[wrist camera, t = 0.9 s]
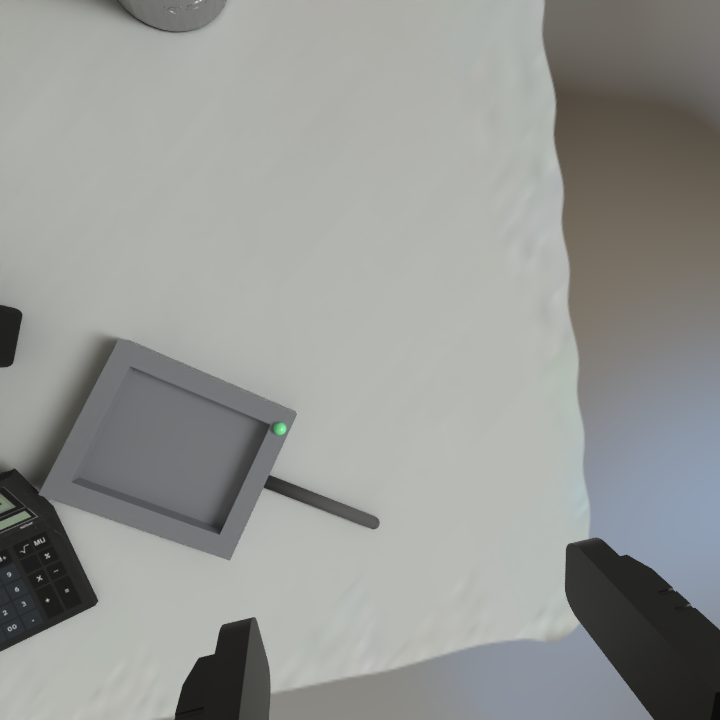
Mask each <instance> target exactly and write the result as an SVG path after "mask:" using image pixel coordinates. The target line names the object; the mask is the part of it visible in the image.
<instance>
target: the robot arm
mask: <svg viewBox="0 0 720 720" xmlns="http://www.w3.org/2000/svg"><path fill="white" fill-rule="evenodd" d="M118 1H119V2H120V3H121V4H122V5H123V7H124V8H125V9H126V10H128V11H129V12H130V13H131V14H132V15H134V16H135V17H136V18H138V19H139V20H141V21H143V22H145V23H146V24H148V25H151V26H154V27H156V28H159V29H163V30H169V31H189V30H193V29H197V28H200V27H202V26H204V25H206V24H208V23H210V22H211V21H212V20H213V19H214V18H215V17H217V16H218V14H219V13H220V11H221V10H222V9H223V7H224V5H225V2H226V0H118ZM565 592H566V597H567V600H568V602H569V605H570V607H571V609H572V611H573V613H574V614H575V616H576V617H577V619H578V620H579V621H580V623H581V624H582V625H583V627H584V628H585V629H586V630H587V632H588V633H589V635H590V636H591V637H592V638H593V640H594V641H595V642H596V644H597V645H598V646H599V647H600V649H601V650H602V652H603V653H604V654H605V656H606V657H607V658H608V660H609V661H610V662H611V663H612V665H613V666H614V667H615V669H616V670H617V671H618V673H619V674H620V675H621V677H622V678H623V679H624V681H625V682H626V683H627V684H628V686H629V687H630V688H631V690H632V691H633V692H634V694H635V695H636V696H637V698H638V699H639V700H640V701H641V703H642V704H643V706H644V707H645V708H646V710H647V711H648V712H649V714H650V715H651V716H652V717H653V719H654V720H720V630H719V629H718V628H717V627H716V626H715V625H714V624H712V623H711V622H710V621H709V620H708V619H707V618H706V617H705V616H704V615H703V614H701V613H700V612H699V611H698V610H697V609H696V608H692V606H691V604H690V603H689V602H688V601H687V600H686V599H685V598H684V597H683V596H681V595H680V594H679V593H678V592H677V591H676V592H675V591H674V590H673V587H671V586H670V585H669V584H668V583H667V582H666V581H665V580H664V579H663V578H661V577H660V576H659V575H658V574H657V573H656V572H655V571H654V570H653V569H651V568H649V567H648V566H646V565H644V564H642V563H641V562H639V561H637V560H635V559H633V558H632V557H630V556H628V555H624V556H619V555H618V554H617V553H616V552H615V551H614V550H613V549H612V548H611V547H610V546H608V545H607V544H606V543H605V542H604V541H603V540H601V539H599V538H592V539H587V540H583V541H579V542H575V543H570V544H568V545H567V548H566V571H565ZM269 708H270V672H269V665H268V660H267V656H266V653H265V649H264V645H263V642H262V638H261V634H260V631H259V627H258V623H257V620H256V618H255V617H253V618H249V619H245V620H240V621H236V622H232V623H228V624H224V625H222V627H221V629H220V632H219V636H218V641H217V646H216V651H215V654H213V655H209V656H205V657H201V658H199V659H198V660H197V662H196V664H195V665H194V667H193V669H192V670H191V672H190V674H189V675H188V677H187V679H186V680H185V682H184V684H183V686H182V690H181V694H180V697H179V701H178V705H177V709H176V712H175V720H269Z"/></svg>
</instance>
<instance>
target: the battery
mask: <svg viewBox="0 0 720 720" xmlns="http://www.w3.org/2000/svg"><path fill="white" fill-rule="evenodd" d="M21 319H22V313H21V311H19V310H18V309H15V308H11V307H7V306H2V305H0V367H8V366H11V365H12V364H13V361H14V356H15V350H16V345H17V340H18V335H19V330H20V325H21Z"/></svg>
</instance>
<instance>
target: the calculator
mask: <svg viewBox="0 0 720 720" xmlns="http://www.w3.org/2000/svg"><path fill="white" fill-rule="evenodd" d="M38 494H39V492H38V491H37V490H36V489H35V488H34V487H33V486H32V485H31V484H30V483H29V482H28V481H27V480H26V479H25V478H24V477H23V476H22V475H21V474H20V473H19V472H18V471H17V470H16V469H13V470H10V471H8V472H5V473H3V474H0V651H2V650H5V649H7V648H9V647H11V646H13V645H15V644H17V643H19V642H21V641H23V640H25V639H27V638H29V637H31V636H33V635H35V634H38V633H40V632H42V631H44V630H46V629H48V628H50V627H52V626H54V625H56V624H58V623H60V622H62V621H64V620H66V619H68V618H70V617H73V616H75V615H77V614H79V613H81V612H83V611H85V610H87V609H89V608H91V607H93V606H95V605H96V604H97V602H98V599H97V597H96V595H95V593H94V591H93V589H92V587H91V584H90V582H89V580H88V578H87V576H86V574H85V572H84V570H83V568H82V565H81V563H80V561H79V559H78V557H77V555H76V553H75V551H74V549H73V546H72V544H71V542H70V540H69V538H68V536H67V534H66V532H65V530H64V527H63V525H62V523H61V521H60V519H59V517H58V515H57V513H56V511H55V508H54V506H53V505H51V504H50V503H49V502H48V501H47V500H46V499H45V498H44V497H43V496H41V495H38Z"/></svg>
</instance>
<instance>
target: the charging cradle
mask: <svg viewBox="0 0 720 720" xmlns="http://www.w3.org/2000/svg"><path fill="white" fill-rule="evenodd" d="M296 415H297V414H296V412H295V411H293V410H291V409H288V408H286V407H284V406H281V405H279V404H277V403H274V402H272V401H270V400H267V399H265V398H263V397H260V396H258V395H256V394H253V393H251V392H249V391H246V390H244V389H242V388H239V387H237V386H235V385H232V384H230V383H228V382H225V381H223V380H221V379H218V378H216V377H214V376H211V375H209V374H207V373H204V372H202V371H200V370H197V369H195V368H193V367H190V366H188V365H186V364H183V363H181V362H179V361H176V360H174V359H172V358H169V357H167V356H165V355H162V354H160V353H158V352H155V351H153V350H151V349H148V348H146V347H144V346H141V345H139V344H137V343H134V342H132V341H130V340H124V339H119V340H118V341H117V343H116V345H115V347H114V349H113V351H112V353H111V355H110V357H109V359H108V361H107V363H106V365H105V367H104V368H103V370H102V372H101V374H100V376H99V378H98V380H97V382H96V384H95V386H94V388H93V390H92V392H91V394H90V396H89V397H88V399H87V401H86V403H85V405H84V407H83V409H82V411H81V413H80V415H79V417H78V419H77V421H76V423H75V425H74V426H73V428H72V430H71V432H70V434H69V436H68V438H67V440H66V442H65V444H64V446H63V448H62V450H61V452H60V454H59V455H58V457H57V459H56V461H55V463H54V465H53V467H52V469H51V471H50V473H49V475H48V477H47V479H46V481H45V483H44V484H43V486H42V488H41V490H40V492H39V494H38V495H41V496H44V497H46V498H49V499H52V500H55V501H58V502H61V503H64V504H67V505H70V506H73V507H76V508H79V509H81V510H84V511H87V512H90V513H93V514H96V515H99V516H102V517H105V518H108V519H111V520H113V521H116V522H119V523H122V524H125V525H128V526H131V527H134V528H137V529H140V530H143V531H146V532H148V533H151V534H154V535H157V536H160V537H163V538H166V539H169V540H172V541H175V542H178V543H180V544H183V545H186V546H189V547H192V548H195V549H198V550H201V551H204V552H207V553H210V554H213V555H215V556H218V557H221V558H224V559H227V560H230V559H231V557H232V555H233V552H234V550H235V548H236V546H237V544H238V542H239V539H240V537H241V535H242V533H243V531H244V528H245V526H246V524H247V522H248V520H249V518H250V515H251V513H252V511H253V509H254V507H255V504H256V502H257V500H258V498H259V496H260V494H261V491H262V489H263V487H264V488H267V489H270V490H272V491H275V492H277V493H280V494H283V495H285V496H288V497H290V498H293V499H296V500H298V501H301V502H303V503H306V504H309V505H311V506H314V507H316V508H319V509H322V510H324V511H327V512H329V513H332V514H335V515H337V516H340V517H342V518H345V519H348V520H350V521H353V522H355V523H358V524H361V525H363V526H366V527H368V528H371V529H376V528H378V526H379V519H378V518H377V517H374V516H372V515H369V514H367V513H364V512H362V511H359V510H357V509H354V508H352V507H349V506H346V505H344V504H341V503H339V502H336V501H334V500H331V499H329V498H326V497H323V496H321V495H318V494H316V493H313V492H311V491H308V490H306V489H303V488H300V487H298V486H295V485H293V484H290V483H288V482H285V481H283V480H280V479H277V478H275V477H272V476H270V475H269V474H270V472H271V470H272V467H273V465H274V463H275V461H276V459H277V456H278V454H279V452H280V450H281V448H282V446H283V443H284V441H285V439H286V437H287V435H288V432H289V430H290V428H291V426H292V424H293V422H294V419H295V417H296Z"/></svg>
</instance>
